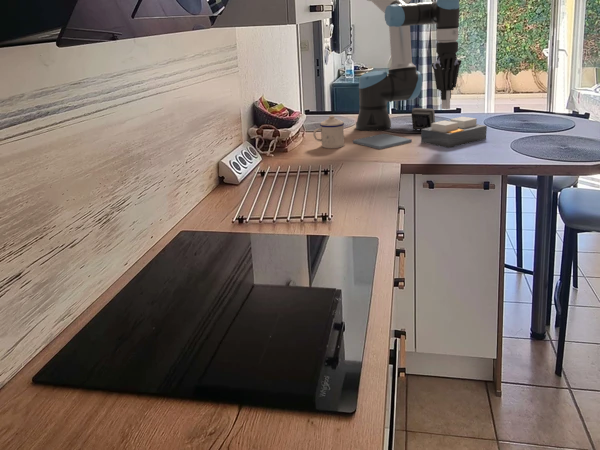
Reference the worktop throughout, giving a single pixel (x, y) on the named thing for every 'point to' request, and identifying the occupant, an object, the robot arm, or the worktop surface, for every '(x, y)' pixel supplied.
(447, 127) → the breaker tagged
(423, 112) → the electrical switch
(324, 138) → the teacup with lid
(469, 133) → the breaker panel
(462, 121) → the block
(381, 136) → the pad
